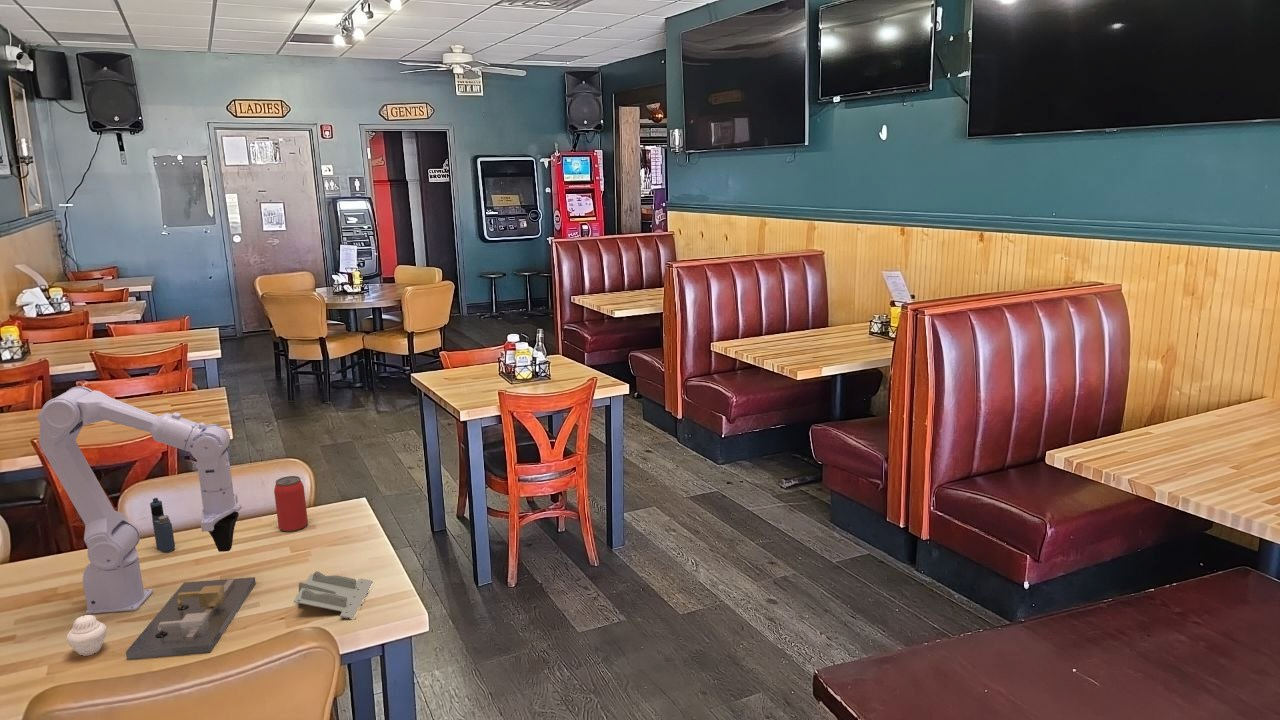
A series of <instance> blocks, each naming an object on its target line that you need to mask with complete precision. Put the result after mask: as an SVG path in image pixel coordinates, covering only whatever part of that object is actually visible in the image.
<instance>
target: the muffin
mask: <svg viewBox="0 0 1280 720" xmlns="http://www.w3.org/2000/svg"><path fill="white" fill-rule="evenodd" d="M107 631H108V627H107V625H106V624H105V623H104V622H100V620H97V618H96V616H95V615H92V614H85V615H82V616H79V617H77V618H76V619H75V620H74V621H73V623H72V628H71V630H70V631H69V632H68V633H67V635H66V642H67V643H68V644H69V647H71V649H73V650H74V651H75V652H76V653H77V654H78V655H79V656H81V655H83V656H82V657H87V656H92V655H95V654H96V653H98V652H100V650H101V649H102V646H103V644H104V641H105V638H106V636H107ZM94 653H95V654H94Z"/></svg>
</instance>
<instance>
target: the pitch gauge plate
mask: <svg viewBox="0 0 1280 720" xmlns="http://www.w3.org/2000/svg"><path fill="white" fill-rule="evenodd" d="M256 584H257V582H256V576H254V577H253V576H252V577H251V576H250V577H239V578H238V577H237V578H225V579H224V578H223V579H214V580H213V579H211V580H200V581H199V580H198V581H186V582H185V581H183V583H182V584H181V586H179V588H178V589H177V590H176V591H175V593H174V594H173V595H172V596H171V597H170V599H169V600H168V601H167V602H166V603H165V605H164V606H163V607H162V608H161V609H160V610H159V612H157V614H156V615H155V616H154V618H153V619H152V620H151V621H150V622H149V623H148V625H147V626H146V627H144V629H143V631H142V632H141V633H140V635H138V636H137V638H136V639H135V640H134V641H133V642H132V644H131V645H130V646H129V647H128V649H127V650H126V651H125V655H126V660H140V659H150V658H152V659H153V658H162V657H175V656H185V655H187V656H188V655H197V654H210V653H211V652H212V651H213V650H214V648H215V646H216V644H217V643H218V642H219V640H220V639H221V637H222V635H223V634H224V632H225V631H226V629H227V628H228V626H229V625H230V623H231V622H232V620H233V619H234V617H235V616H236V614H237V613H238V611H239V610H240V609H241V607H242V606H243V604H244V602H245V601H246V599H247V598H248V597H249V595H250V593H251V592H252V590H253V589H254V587H255V586H256ZM216 585H224V591H225V599H224V601H223V602H222V604H221V605H220V606H210V607H200V602H199V597H192V598H181V601H182V608H181V609H179V605H178V594H179V593H182V592H196V591H201V590H202V588H203V587H204V586H216Z"/></svg>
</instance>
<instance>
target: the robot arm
mask: <svg viewBox="0 0 1280 720" xmlns="http://www.w3.org/2000/svg"><path fill="white" fill-rule="evenodd" d="M181 416H182V414H181V413H179V412H176V411H175V412H174V413H172V414H171V413H169V412H166V413H164V414H162V415H156V414H154V413H151V412H148V411H145V410H144V409H141V408H138V407H135V406H134V405H131V404H129V403H125V402H123V401H121V400H118V399H115V398H113V397H111V396H109V395H107V394H106V393H104V392H103V391H99V390H95V389H94V390H92V389H91V388H89V387H85V386H82V385H81V386H74V387H71V388H69V389H68V390H66V392H63V393H61V394H60V395H58V396H56V397H54V398H51V399H50V400H49V399H48V401H46V402H45V403H44V405H43V406H42V408H41V409H40V411H39V413H38V414H37V417H36V418H37V420H38V422H39V434H38V435H39V436H38V437H39V439H38V444H39V447H40V448H41V451H42V453H43V454H44V456H45V457H46V460H47V461H48V463H49V464H50V467H51V469H53V472H54V474H56V477H57V479H58V480H59V482H60V484H61V486H62V487H63V489H64V490H65V492H66V494H67V496H68V498H69V499H70V501H71V503H72V505H73V506H74V508H75V510H76V511H77V513H78V515H79V516H80V519H81V521H82V522H83V523H84V526H85V528H84V535H83V541H84V543H85V545H86V547H87V558H88V561H89V564H87V565H86V566H85V569H84V570H83V576H82V586H83V591H84V598H85V603H86V607H87V609H86V611H85V613H86V614H85V615H92V614H100V613H101V614H103V613H114V612H126V611H127V612H129V611H136V610H138V609H139V608H140V607H141V605H143V603H144V602H145V601H146V600H147V599H148V598H149V596H150V595H151V594H152V593H153V592H154V588H148V589H146V588H144V584H143V583H144V582H143V576H142V570H141V565H140V564H141V563H140V559H139V554H138V552H137V546H138V544H139V542H140V541H141V532H140V530H139V528H138V527H137V526H136V525H135V524H133V523H132V522H131V521H130V520H128V518H127V516H126V515H125V514H124V513H122V512H121V511H120V512H119V511H118V510H115V509H114V506H113V504H112V503H111V501H110V500H109V498H108V496H107V494H106V493H105V491H104V489H103V487H102V486H101V483H100V482H99V480H98V479H97V476H96V475H95V473H94V471H93V469H92V468H91V466H90V464H89V462H88V461H87V459H86V456H85V455H84V453H83V452H82V450H81V448H80V446H79V445H78V443H77V438H78V437H79V434H80V432H81V430H82V428H83V426H86V425H91V424H95V423H98V422H99V423H100V422H103V421H108V422H111V423H115V424H119V425H122V426H126V427H130V428H133V429H137V430H140V431H144V432H147V433H150V435H151V437H152V438H153V440H154V441H155V442H158V443H160V444H164V445H167V446H171V447H174V448H176V449H180V450H182V451H185V452H189V453H190V454H191V455H192V457H193V458H194V459H195V460H196V463H197V472H198V473H197V474H198V480H199V487H200V493H201V501H202V502H201V503H202V508H203V509H202V511H201V512H202V513H201V514H202V520H201V521H200V529H201V532H203V533H205V532H208V533H209V534H210V536H211V537H212V540H213V542H214V544H215V546H216V548H217V551H218V553H222V552H230V551H231V550H232V547H233V543H234V542H233V540H234V533H235V527H236V523H237V521H238V518H239V511H241V509H242V507H243V506H242V504H238V503H239V500H238V494H237V493H234V487H233V480H232V478H233V477H232V472H231V470H232V469H231V464H230V458H229V452H228V450H227V449H228V447H229V445H230V443H231V435H230V434H229V433H230V432H228V430H227V429H226V428H225V427H223V426H221V425H219V424H218V423H217V424H216V423H212V424H211V423H210V424H207V423H205V422H202V421H201V422H200V423H198V422H196V421H193V420H189V419H187V418H184V417H181Z"/></svg>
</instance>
